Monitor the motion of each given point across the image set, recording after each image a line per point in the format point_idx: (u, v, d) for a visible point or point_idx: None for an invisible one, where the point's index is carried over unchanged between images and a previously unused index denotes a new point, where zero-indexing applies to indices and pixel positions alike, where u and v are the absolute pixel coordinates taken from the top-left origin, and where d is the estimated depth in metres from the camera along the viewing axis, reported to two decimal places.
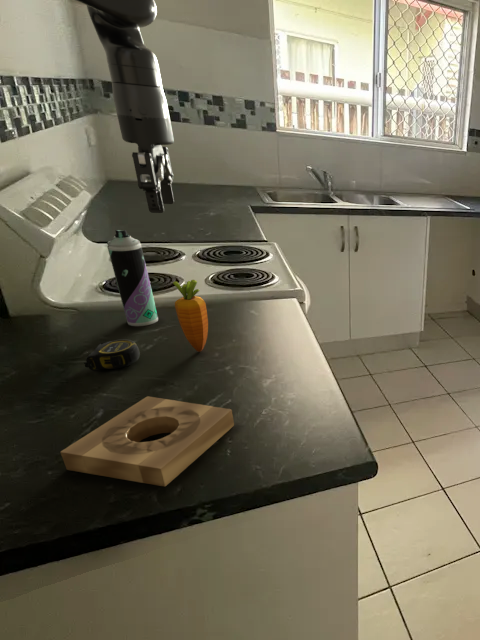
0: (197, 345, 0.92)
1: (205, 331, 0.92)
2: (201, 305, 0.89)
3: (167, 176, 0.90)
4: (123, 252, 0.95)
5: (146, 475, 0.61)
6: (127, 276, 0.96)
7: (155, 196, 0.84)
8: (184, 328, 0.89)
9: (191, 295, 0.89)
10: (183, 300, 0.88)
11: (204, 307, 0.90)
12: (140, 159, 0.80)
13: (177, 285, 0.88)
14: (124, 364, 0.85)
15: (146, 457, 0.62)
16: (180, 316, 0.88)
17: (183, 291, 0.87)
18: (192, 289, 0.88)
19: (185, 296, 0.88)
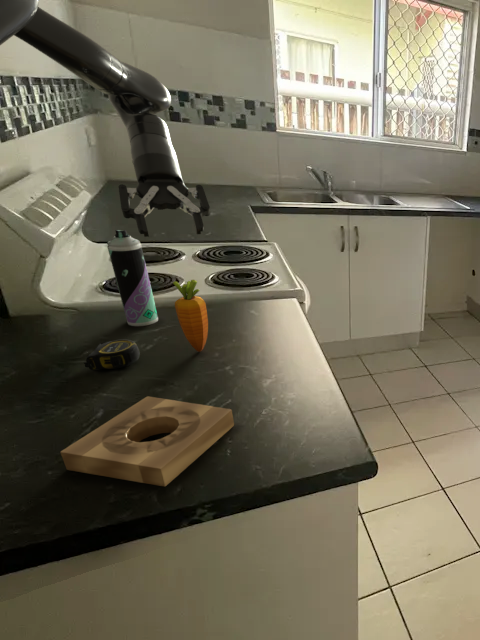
0: (197, 345, 0.92)
1: (205, 331, 0.92)
2: (201, 305, 0.89)
3: (147, 213, 0.92)
4: (123, 252, 0.95)
5: (146, 475, 0.61)
6: (127, 276, 0.96)
7: None
8: (184, 328, 0.89)
9: (191, 295, 0.89)
10: (183, 300, 0.88)
11: (204, 307, 0.90)
12: None
13: (177, 285, 0.88)
14: (124, 364, 0.85)
15: (146, 457, 0.62)
16: (180, 316, 0.88)
17: (183, 291, 0.87)
18: (192, 289, 0.88)
19: (185, 296, 0.88)
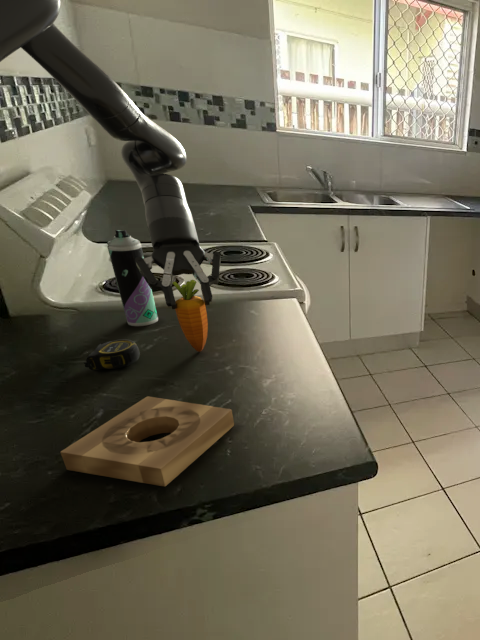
0: (197, 345, 0.92)
1: (205, 331, 0.92)
2: (201, 305, 0.89)
3: (172, 281, 0.89)
4: (123, 252, 0.95)
5: (146, 475, 0.61)
6: (127, 276, 0.96)
7: None
8: (184, 328, 0.89)
9: (190, 295, 0.89)
10: (182, 300, 0.88)
11: (204, 307, 0.90)
12: (220, 259, 0.93)
13: (176, 285, 0.88)
14: (124, 364, 0.85)
15: (146, 457, 0.62)
16: (180, 316, 0.88)
17: (182, 291, 0.87)
18: (191, 289, 0.88)
19: (184, 296, 0.88)
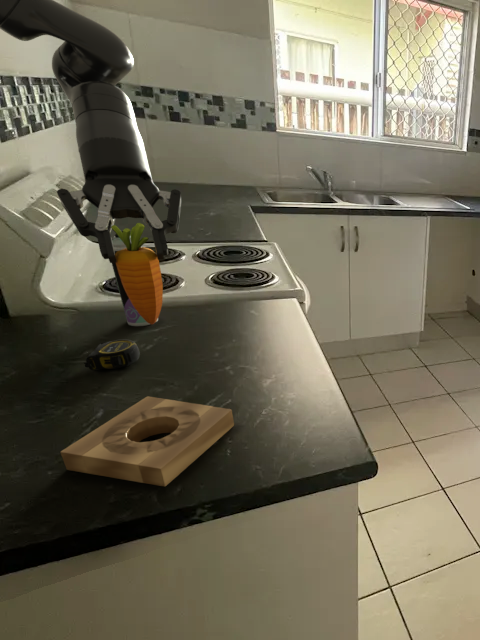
0: (148, 315, 0.68)
1: (158, 296, 0.68)
2: (152, 260, 0.66)
3: (111, 226, 0.65)
4: None
5: (146, 475, 0.61)
6: None
7: None
8: (128, 290, 0.66)
9: (137, 245, 0.65)
10: (125, 251, 0.64)
11: (156, 262, 0.66)
12: (180, 200, 0.70)
13: (117, 230, 0.64)
14: (124, 364, 0.85)
15: (146, 457, 0.62)
16: (122, 273, 0.64)
17: (125, 238, 0.64)
18: (138, 236, 0.64)
19: (128, 246, 0.64)
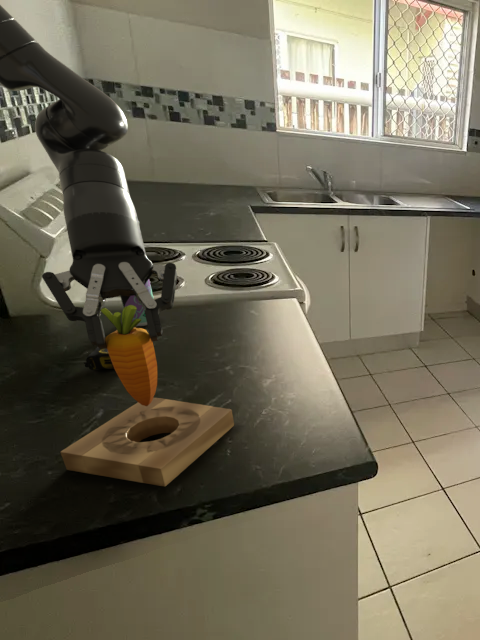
0: (142, 398, 0.64)
1: (153, 378, 0.64)
2: (145, 342, 0.61)
3: (102, 307, 0.61)
4: None
5: (146, 475, 0.61)
6: None
7: None
8: (120, 376, 0.61)
9: (129, 328, 0.60)
10: (116, 335, 0.60)
11: (150, 344, 0.62)
12: (176, 273, 0.65)
13: (107, 313, 0.59)
14: None
15: (146, 457, 0.62)
16: (113, 359, 0.60)
17: (116, 323, 0.59)
18: (130, 319, 0.60)
19: (120, 329, 0.60)
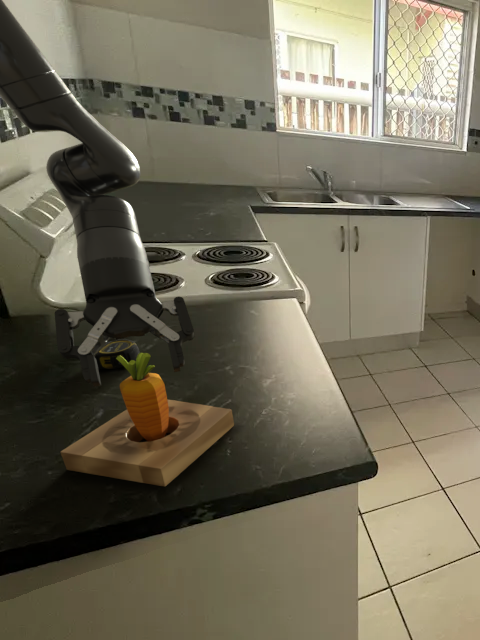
0: (153, 439, 0.67)
1: (164, 420, 0.67)
2: (158, 387, 0.64)
3: (100, 347, 0.62)
4: None
5: (146, 475, 0.61)
6: None
7: None
8: (133, 419, 0.64)
9: (143, 374, 0.63)
10: (131, 382, 0.63)
11: (162, 389, 0.65)
12: None
13: (122, 361, 0.62)
14: None
15: (146, 457, 0.62)
16: (127, 404, 0.63)
17: (130, 370, 0.62)
18: (144, 366, 0.63)
19: (134, 376, 0.63)
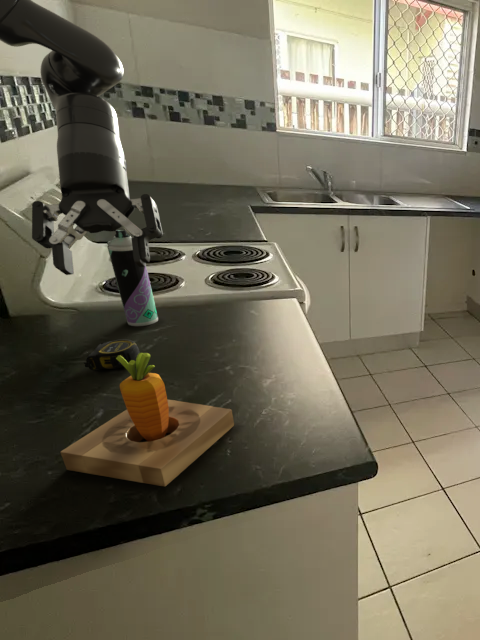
0: (153, 439, 0.67)
1: (164, 420, 0.67)
2: (158, 387, 0.64)
3: (76, 239, 0.67)
4: (123, 252, 0.95)
5: (146, 475, 0.61)
6: (127, 276, 0.96)
7: (148, 246, 0.69)
8: (133, 419, 0.64)
9: (143, 374, 0.63)
10: (131, 382, 0.63)
11: (162, 389, 0.65)
12: (153, 203, 0.70)
13: (122, 361, 0.62)
14: None
15: (146, 457, 0.62)
16: (127, 404, 0.63)
17: (130, 370, 0.62)
18: (144, 366, 0.63)
19: (134, 376, 0.63)
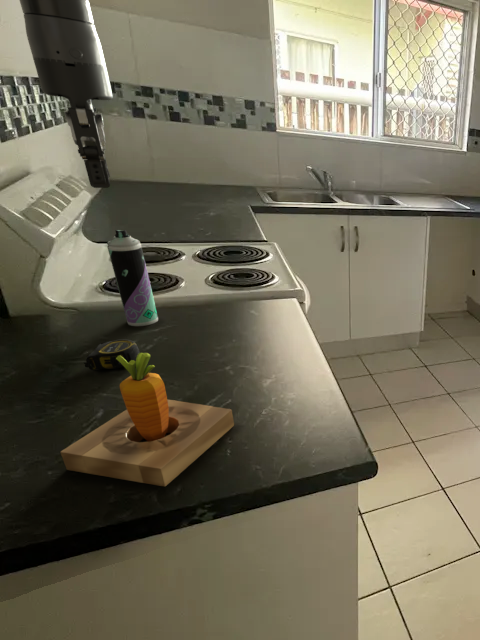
0: (153, 439, 0.67)
1: (164, 420, 0.67)
2: (158, 387, 0.64)
3: None
4: (123, 252, 0.95)
5: (146, 475, 0.61)
6: (127, 276, 0.96)
7: (99, 166, 0.66)
8: (133, 419, 0.64)
9: (143, 374, 0.63)
10: (131, 382, 0.63)
11: (162, 389, 0.65)
12: (80, 117, 0.62)
13: (122, 361, 0.62)
14: None
15: (146, 457, 0.62)
16: (127, 404, 0.63)
17: (130, 370, 0.62)
18: (144, 366, 0.63)
19: (134, 376, 0.63)
